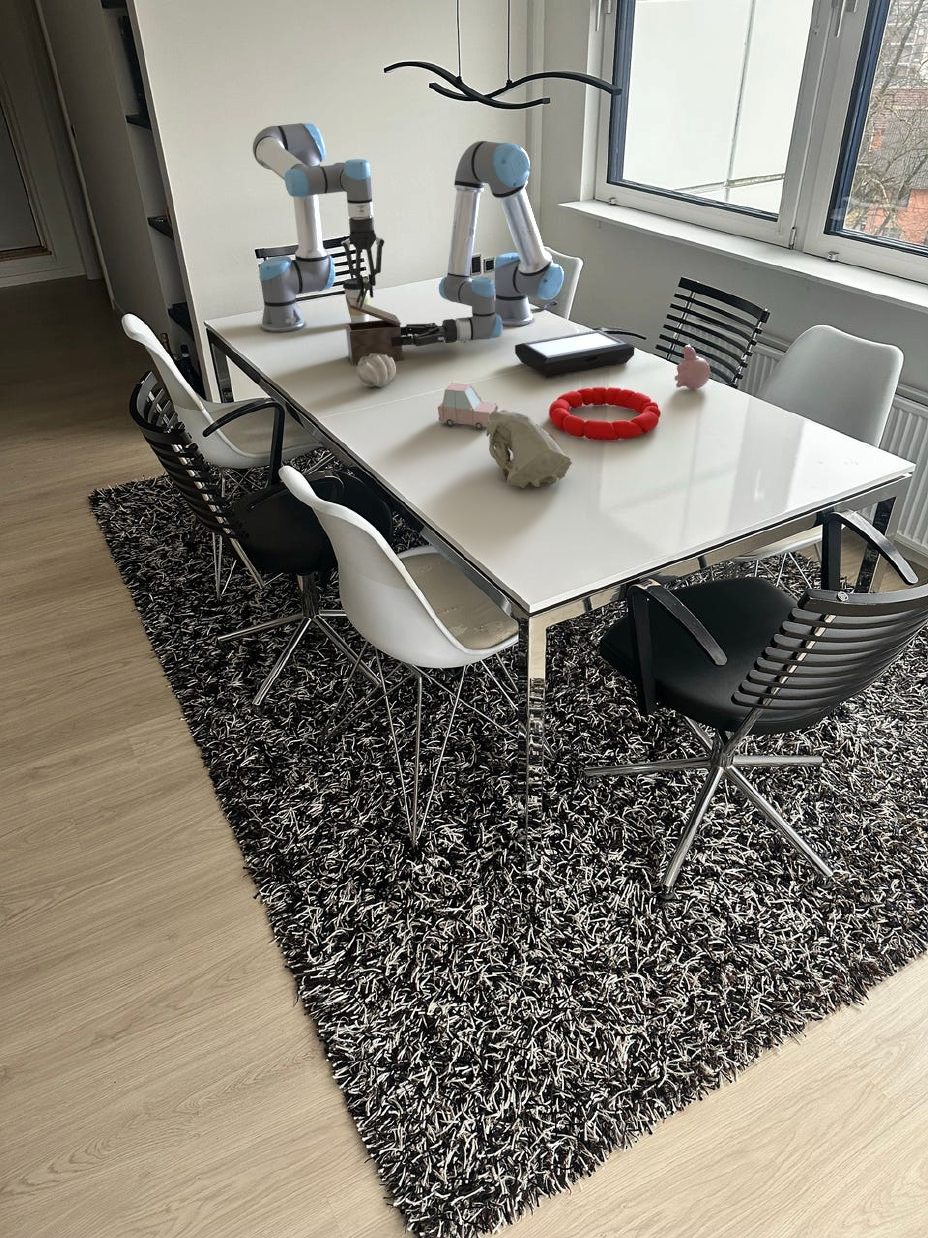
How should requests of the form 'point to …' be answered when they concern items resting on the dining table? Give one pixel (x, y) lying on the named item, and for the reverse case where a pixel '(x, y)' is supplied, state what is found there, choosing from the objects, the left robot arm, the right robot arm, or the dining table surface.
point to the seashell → (376, 369)
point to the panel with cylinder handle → (369, 309)
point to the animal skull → (525, 450)
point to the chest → (372, 339)
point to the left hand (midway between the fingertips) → (367, 296)
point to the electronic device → (574, 353)
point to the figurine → (692, 370)
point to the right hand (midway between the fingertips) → (389, 337)
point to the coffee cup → (353, 293)
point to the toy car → (465, 406)
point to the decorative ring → (604, 428)
